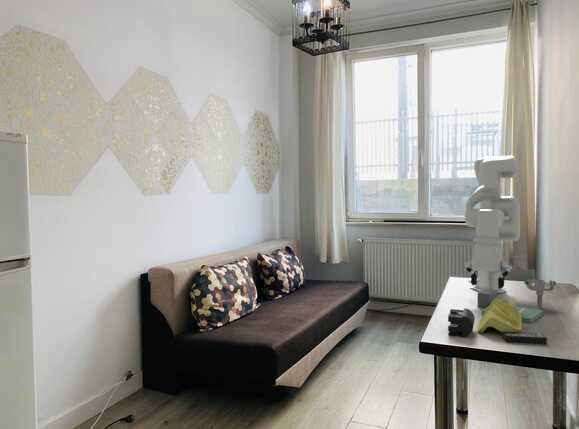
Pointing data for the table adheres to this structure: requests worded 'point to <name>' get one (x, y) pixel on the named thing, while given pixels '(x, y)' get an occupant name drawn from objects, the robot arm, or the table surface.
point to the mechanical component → (539, 288)
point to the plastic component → (501, 317)
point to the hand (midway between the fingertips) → (487, 286)
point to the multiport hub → (524, 338)
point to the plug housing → (486, 297)
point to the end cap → (460, 322)
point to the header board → (523, 312)
